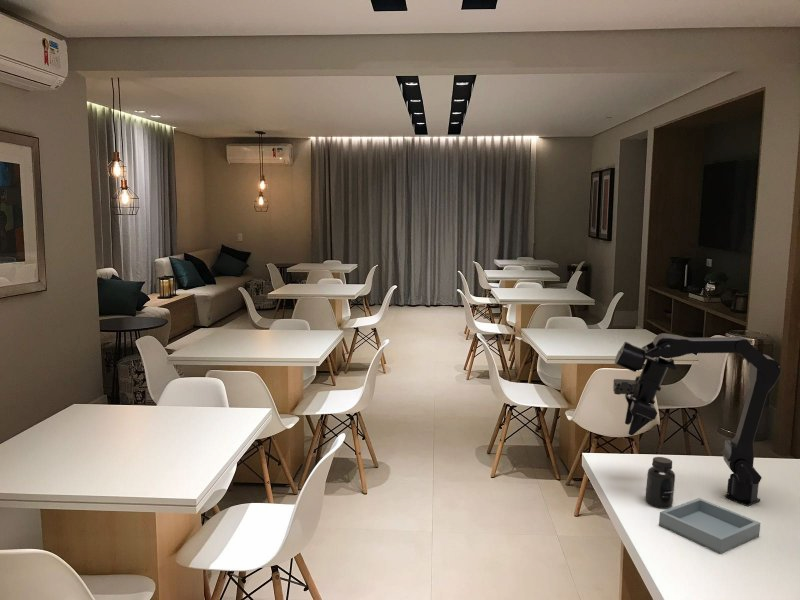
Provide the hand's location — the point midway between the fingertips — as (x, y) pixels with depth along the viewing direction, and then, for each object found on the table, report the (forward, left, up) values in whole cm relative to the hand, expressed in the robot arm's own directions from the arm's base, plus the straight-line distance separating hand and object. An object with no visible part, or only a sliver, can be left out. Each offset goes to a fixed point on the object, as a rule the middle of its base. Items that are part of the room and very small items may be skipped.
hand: (628, 429), depth 185 cm
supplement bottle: (-12, +1, -17) cm, 21 cm away
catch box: (-28, +4, -17) cm, 33 cm away
